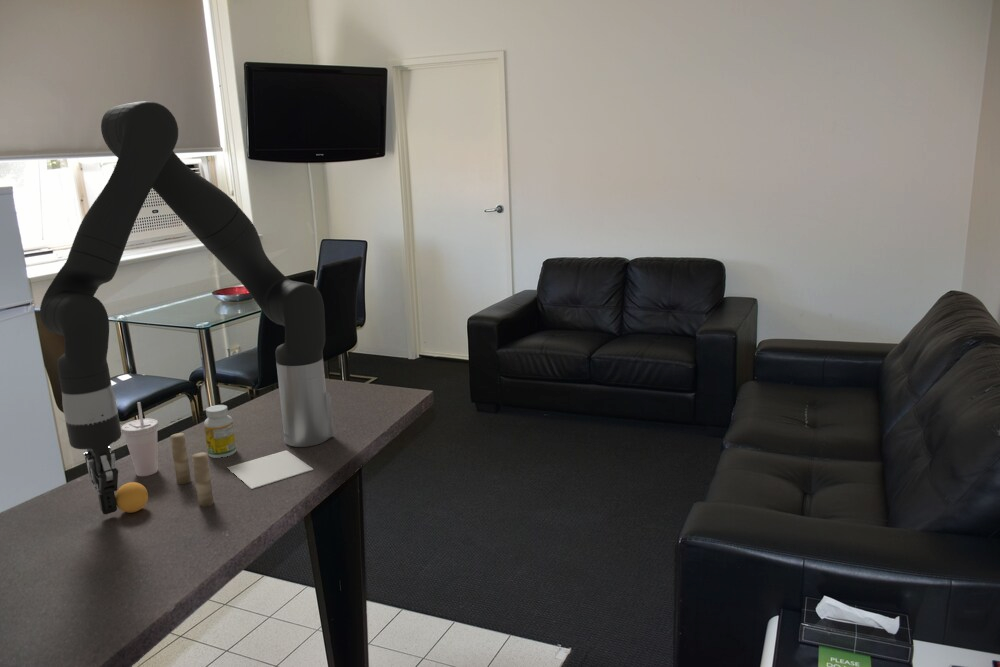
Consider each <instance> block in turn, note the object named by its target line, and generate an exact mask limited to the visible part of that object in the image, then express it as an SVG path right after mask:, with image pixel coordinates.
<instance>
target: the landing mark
mask: <svg viewBox="0 0 1000 667" xmlns="http://www.w3.org/2000/svg"><path fill="white" fill-rule="evenodd" d="M227 468H228V469H229V470H230V471H229V470H228V469H227ZM226 469H227V470H228V471H229V472H230V473H232V474H233V473H234V474H235V475H236V476H237V477H236V476H235V475H234V474H233V475H234V476H235V477H236V478H238V480H239V481H241V480H242V481H243V482H244V483H243V482H242V481H241V482H242V483H243V484H245V485H246V486H247V487H248V488H249V489H250V490H254V489H258V488H260V487H263V486H264V487H265V486H267V485H270V484H273V483H276V482H279V481H282V480H286V479H289V478H291V477H296V476H298V475H302V474H305V473H309V472H311V471H314V468H313V467H311V466H310V465H308V464H307V463H306V462H304V461H303V460H301V459H299V457H297V456H295V455H294V454H292V453H291V452H290V451H288V450H282V451H280V452H279V451H278V452H276V453H272V454H268V455H265V456H261V457H258V458H255V459H251V460H247V461H245V462H240V463H238V464H234V465H231V466H227V467H226Z"/></svg>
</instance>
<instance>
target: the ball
mask: <svg viewBox="0 0 1000 667" xmlns="http://www.w3.org/2000/svg"><path fill="white" fill-rule="evenodd" d="M115 499H116V505H117V509H119V510H121V511H122V512H124V513H137V512H138V511H140V510H142V509H143V508H144V507H145V506H146V504H147V502H148V499H149V493H148V490H147V488H146V487H145V486H144V485H143V484H141V483H140V482H135V481H133V482H127V483H125V484H123V485H121V486H119V488H117V491H116V493H115Z"/></svg>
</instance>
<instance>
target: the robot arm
mask: <svg viewBox="0 0 1000 667" xmlns="http://www.w3.org/2000/svg"><path fill="white" fill-rule="evenodd" d="M100 122H101V124H100V132H101V134H102V135H101V136H102V138H103V141H104V142H105V145H106V146H107V147H108V148H109V150H110V151H111V153H113V155H115V157H117V161H116V164H115V167H114V169H113V170H112V173H111V175H110V177H109V179H108V181H107V183H106V184H105V185H104V188H103V189H102V190H101V192H100V193H99V194H98V196H97V197H96V198H95V200H94V202H93V203H92V204H91V206H90V208H89V209H88V210H87V212H86V213H85V215H84V217H83V218H82V220H81V223H80V224H79V227H78V229H77V232H76V234H75V237H74V239H73V242H72V245H71V248H70V250H69V253H68V256H67V258H66V261H65V263H64V264H63V265H62V267H60V269H59V271H58V272H57V273H56V276H55V277H54V278H53V280H52V282H50V285H49V286H48V288H47V289H46V291H45V293H44V295H43V297H42V300H41V302H40V308H39V317H40V318H39V319H40V322H41V324H42V325H43V327H44V328H45V329H46V330H47V331H49V332H51V333H53V334H56V335H58V336H62V337H63V339H64V353H63V354H62V355H61V356H60V357H58V360H57V363H56V364H57V368H56V369H57V374H58V380H59V385H60V390H61V396H62V397H61V398H62V401H61V403H62V404H61V405H62V411H63V415H64V421H65V426H66V432H67V436H68V441H69V446H70V447H72V448H74V449H76V450H85V451H83V454H82V456H83V460H84V462H85V463H86V466H87V471H88V476H89V477H90V479H91V483H92V484H93V485H94V486H93V487H94V490H95V492H96V493H97V496H98V497H97V498H98V503H99V507H100V511H101V513H102V514H103V515H108V514H112V513H115V512H117V510H118V506H117V505H116V499H115V495H116V493H115V492H117V491H118V489H119V488H118V485H119V484H118V481H119V470H118V468H116V465H115V464H116V460H117V459H116V454H115V451H114V450H113V451H112V449H111V447H110V445H112V444H113V443H116V442H117V441H119V440H120V439H121V438H122V435H123V434H122V433H121V431H122V430H121V427H122V426H121V423H120V418H119V417H120V416H119V411H118V406H117V405H118V404H117V399H116V395H115V391H114V389H113V386H112V385H113V384H112V381H111V375H110V368H109V363H108V360H107V358H108V352H109V351H108V350H109V341H110V340H109V339H110V338H109V337H110V321H109V320H110V319H109V315H108V312H107V309H106V307H105V306H104V304H103V303H102V301H101V300H100V299H99V298H98V297H95V294H96V293H97V290H98V289H99V287H100V286H102V285H103V284H106V283H110V282H111V281H112V280H113V279H114V277H115V275H116V272H117V270H118V267H119V265H120V263H121V259H122V257H123V255H124V251H125V248H126V246H127V243H128V242H129V237H130V235H131V233H132V230H133V227H134V226H135V224H136V223H135V222H136V221H137V219H138V216H139V214H140V212H141V210H142V207H143V205H144V204H145V202H146V200H147V197H148V195H149V194H150V192H151V190H152V189H153V191H155V193H156V194H157V195H159V197H160V198H161V199H162V200H163V201H164V202H165V204H166V205H167V206H168V207H169V208H170V209H171V210H172V211H173V213H174V214H175V215H176V216H177V217H178V218H179V219H180V220H181V221H182V222H183V224H185V225H186V227H187V228H188V229H189V230H190V231H191V232H192V234H193V235H194V236H195V237H196V238H197V240H198V241H200V243H201V244H203V246H204V247H205V248H206V249H207V250H208V251H209V252H210V253H211V254H212V255H214V257H215V258H216V259H217V260H218V261H219V262H220V263H221V264H222V265H223V266H224V267H225V268H226V269H227V270H228V271H229V272H230V273H231V274H232V275H233V276H234V277H235V278H236V279H237V280H238V281H239V282H240V283H241V285H242V286H243V287H244V288H245V289H246V291H248V294H250V295H251V298H252V299H253V300H254V302H256V305H258V307H259V308H260V310H261V311H262V312H263V314H265V315H264V316H266V317H267V318H268V319H269V320H270V321H272V322H273V323H275V324H276V325H279V326H283V327H284V343H282V344H280V345H278V346H277V347H275V348H276V349H275V353H274V354H275V363H276V364H275V365H276V370H277V371H276V372H277V381H278V392H279V401H280V410H281V411H280V412H281V420H282V428H283V439H284V444H286V445H288V446H292V447H297V448H298V447H299V448H303V447H304V448H305V447H306V448H307V447H312V446H313V447H314V446H317V445H319V444H323V443H325V442H326V441H327V440H329V439H331V438H333V437H335V435H334V433H335V432H334V423H333V422H334V421H333V412H332V411H333V410H332V399H331V394H330V393H329V392H328V391H327V387H326V377H325V375H326V374H325V366H324V353H323V352H324V347H325V344H326V318H325V316H326V315H325V304H324V300H323V295H322V293H321V291H320V290H319V289H318V288H317V287H316V286H314V285H313V284H310V283H306V282H301V281H296V280H291V279H289V278H288V277H287V276H285V274H283V273H282V272H281V271H280V270H279V269H278V267H277V266H275V265H274V263H272V261H271V260H270V259H269V258H268V256H267V254H266V253H265V250H264V248H263V244H262V241H261V239H260V236H259V233H258V230H257V228H256V227H255V225H254V223H253V222H252V220H251V219H250V218H249V216H248V215H246V214H245V212H244V211H243V209H241V208H240V206H239V205H238V204H237V202H235V201H234V199H233V198H232V197H230V195H229V194H227V193H225V192H224V191H223V190H222V189H220V188H219V187H218V186H216V185H214V183H212V182H210V181H209V180H207V179H206V178H205V177H203V176H201V175H200V174H199V173H197V172H195V171H194V170H193V169H192V168H190V167H189V166H187V164H186V163H185V162H183V160H181V159H180V157H179V156H178V155H177V154H176V153H175V152H174V150H175V148H176V145H177V143H178V140H179V126H178V122H177V120H176V117H175V116H174V114H173V113H172V112H171V110H169V109H168V108H167V107H166V106H165V105H163V104H161V103H158V102H156V101H150V100H149V101H145V100H143V101H142V100H141V101H133V102H130V103H129V102H128V103H123V104H120V105H115V106H113V107H112V108H111V107H110V108H109V109H108V110H106V112H104V114H103V116H102V118H101V121H100Z"/></svg>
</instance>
